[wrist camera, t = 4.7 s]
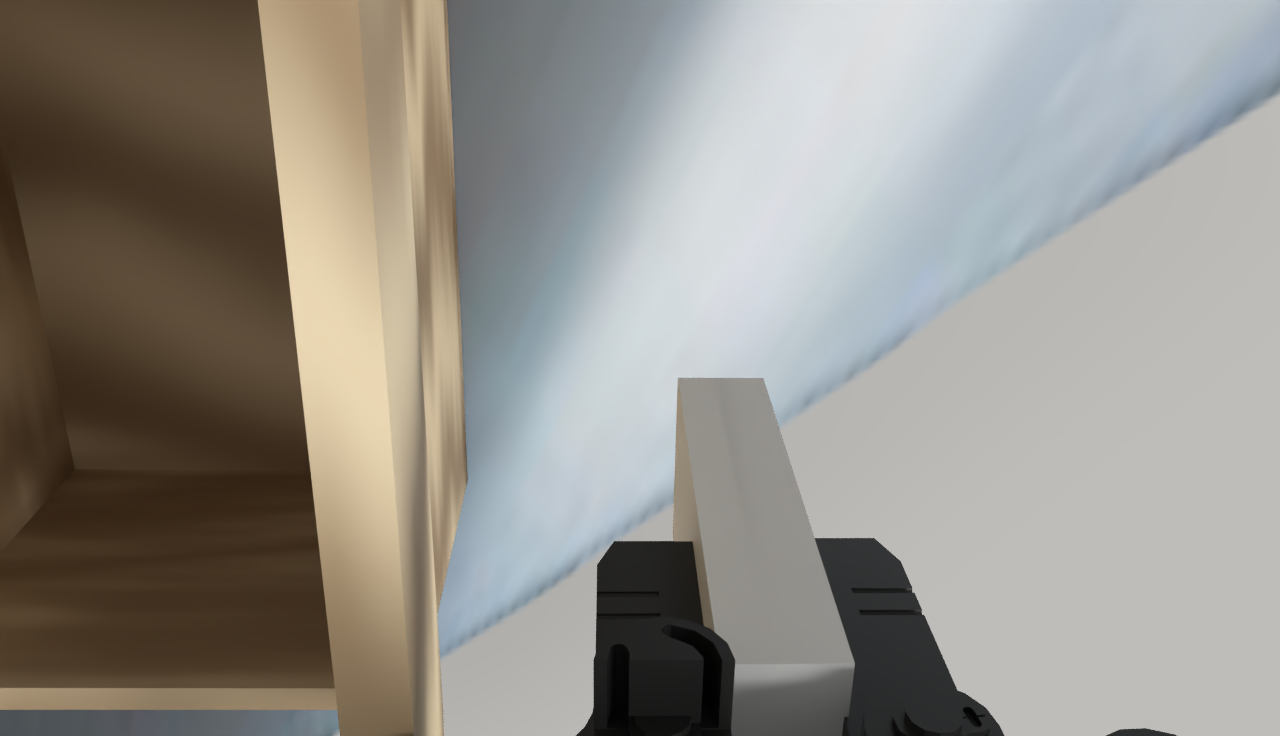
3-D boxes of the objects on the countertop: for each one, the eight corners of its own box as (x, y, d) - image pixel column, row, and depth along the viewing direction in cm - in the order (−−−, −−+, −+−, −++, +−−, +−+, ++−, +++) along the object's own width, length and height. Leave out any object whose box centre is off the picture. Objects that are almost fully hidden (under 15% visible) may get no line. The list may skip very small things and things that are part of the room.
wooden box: (-81, -197, 25) (-473, -240, 16) (438, -180, 25) (348, -212, 16) (66, 476, 32) (-143, 709, 23) (467, 479, 33) (415, 709, 24)
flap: (226, -277, 6) (337, -273, 6) (347, -184, 16) (388, -183, 16) (410, 1356, 13) (460, 1346, 13) (414, 714, 23) (442, 711, 23)
